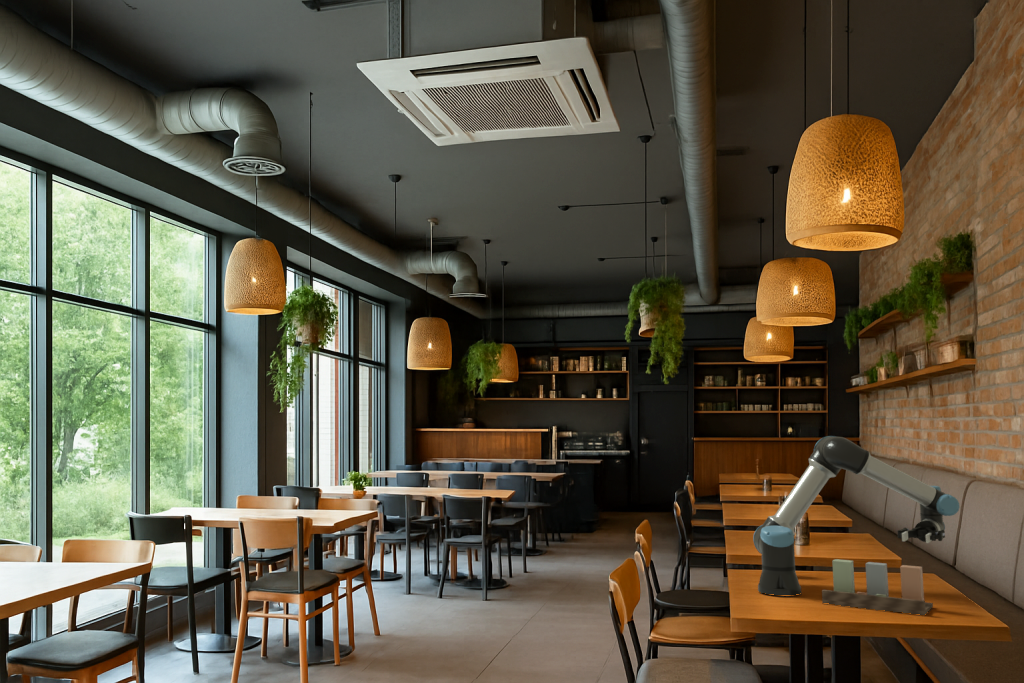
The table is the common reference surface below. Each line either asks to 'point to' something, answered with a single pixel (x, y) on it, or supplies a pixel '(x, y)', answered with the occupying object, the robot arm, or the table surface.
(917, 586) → the terracotta key
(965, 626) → the table surface
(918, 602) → the keypad console
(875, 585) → the blue-grey upright slab
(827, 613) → the table surface
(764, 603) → the table surface
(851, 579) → the pale green upright slab
